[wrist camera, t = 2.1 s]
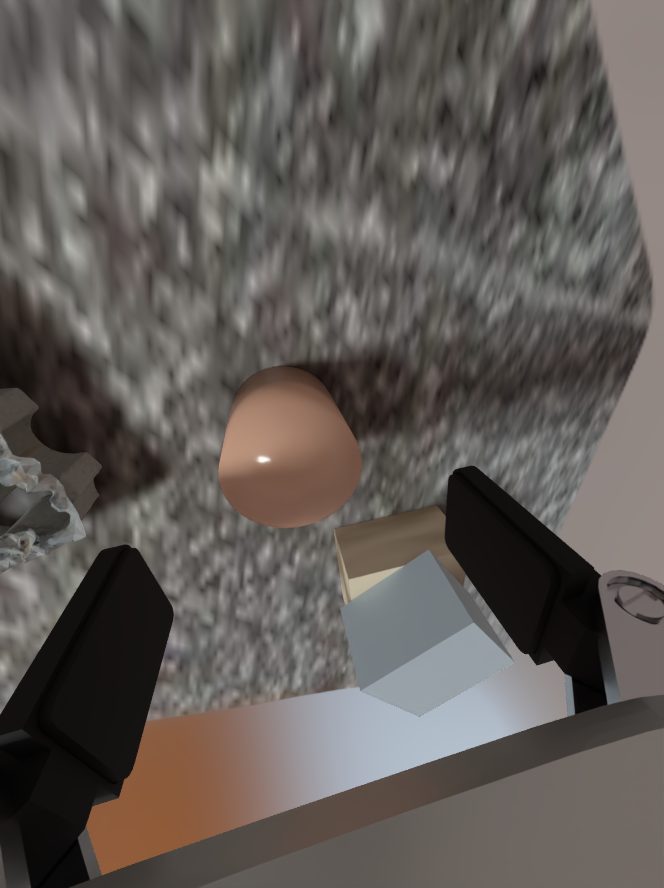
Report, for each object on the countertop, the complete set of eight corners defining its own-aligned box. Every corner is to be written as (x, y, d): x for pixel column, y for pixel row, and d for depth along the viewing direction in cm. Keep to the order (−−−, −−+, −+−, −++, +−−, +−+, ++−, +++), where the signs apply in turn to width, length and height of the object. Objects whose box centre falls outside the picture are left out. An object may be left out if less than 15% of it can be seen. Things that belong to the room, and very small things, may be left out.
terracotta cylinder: (216, 376, 14) (196, 425, 9) (327, 357, 14) (357, 394, 10) (246, 468, 16) (241, 540, 12) (339, 449, 17) (366, 511, 12)
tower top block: (340, 608, 17) (360, 691, 14) (428, 549, 16) (473, 622, 13) (392, 641, 20) (419, 716, 17) (469, 593, 19) (514, 662, 16)
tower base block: (333, 525, 20) (348, 579, 16) (434, 502, 21) (470, 548, 17) (342, 592, 23) (356, 648, 20) (429, 570, 24) (457, 620, 21)
